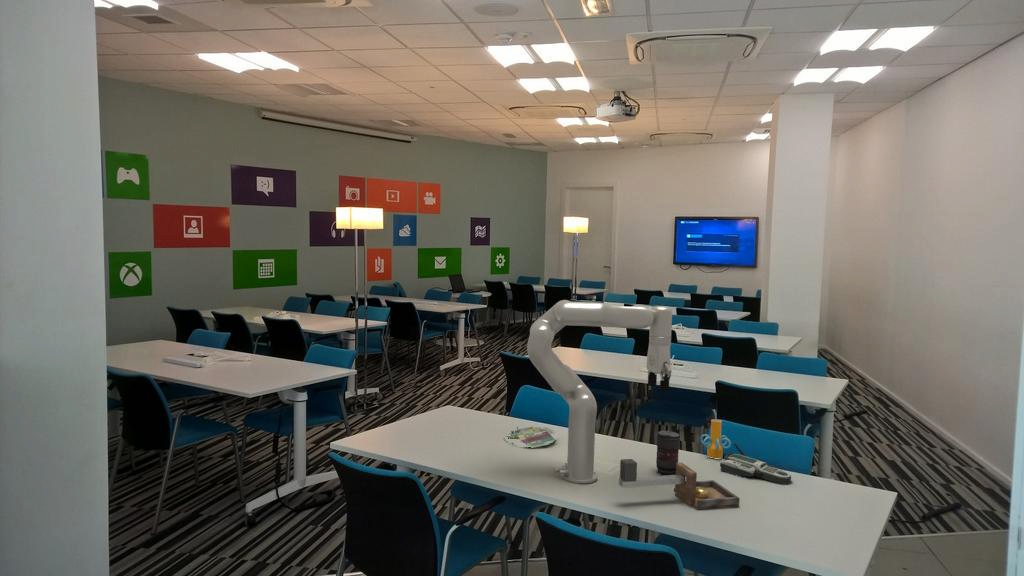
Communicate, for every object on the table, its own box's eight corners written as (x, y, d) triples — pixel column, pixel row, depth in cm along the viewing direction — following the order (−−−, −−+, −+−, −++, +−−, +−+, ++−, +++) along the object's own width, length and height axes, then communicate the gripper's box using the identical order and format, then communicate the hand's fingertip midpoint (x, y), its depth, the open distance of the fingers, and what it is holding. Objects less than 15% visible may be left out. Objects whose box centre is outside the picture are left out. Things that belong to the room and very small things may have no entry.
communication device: (784, 490, 223) (785, 465, 223) (718, 472, 239) (720, 449, 238) (794, 481, 232) (796, 457, 232) (731, 464, 248) (732, 442, 247)
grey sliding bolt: (623, 488, 202) (623, 463, 202) (618, 483, 206) (619, 459, 206) (685, 484, 207) (686, 460, 207) (680, 479, 211) (681, 456, 211)
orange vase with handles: (711, 463, 248) (713, 425, 247) (694, 454, 258) (695, 418, 257) (735, 459, 253) (737, 422, 252) (717, 451, 263) (719, 416, 262)
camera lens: (678, 477, 231) (680, 437, 230) (656, 475, 232) (657, 435, 232) (677, 470, 239) (679, 431, 238) (655, 468, 240) (657, 429, 239)
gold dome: (708, 492, 208) (708, 499, 208) (708, 487, 212) (707, 494, 213) (694, 490, 209) (694, 497, 210) (694, 485, 214) (693, 492, 214)
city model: (491, 442, 274) (490, 428, 273) (533, 428, 288) (532, 415, 287) (527, 459, 254) (526, 445, 253) (570, 443, 268) (569, 429, 267)
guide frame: (694, 510, 202) (695, 476, 201) (670, 491, 218) (672, 459, 217) (739, 507, 206) (740, 473, 205) (712, 488, 221) (714, 457, 220)
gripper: (640, 337, 232) (638, 383, 234) (661, 344, 216) (659, 394, 217) (658, 337, 234) (656, 383, 235) (681, 344, 217) (679, 393, 218)
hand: (658, 388), depth 226 cm, fingers open, 9 cm apart
